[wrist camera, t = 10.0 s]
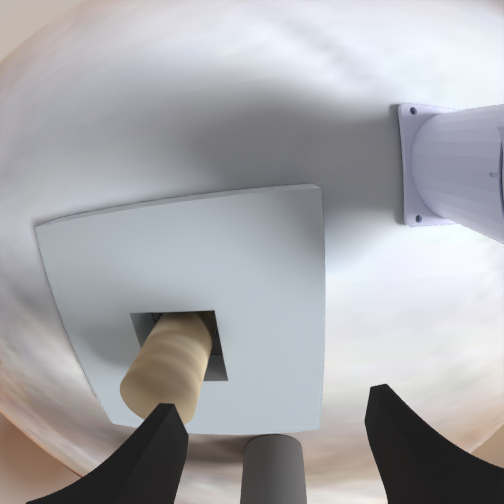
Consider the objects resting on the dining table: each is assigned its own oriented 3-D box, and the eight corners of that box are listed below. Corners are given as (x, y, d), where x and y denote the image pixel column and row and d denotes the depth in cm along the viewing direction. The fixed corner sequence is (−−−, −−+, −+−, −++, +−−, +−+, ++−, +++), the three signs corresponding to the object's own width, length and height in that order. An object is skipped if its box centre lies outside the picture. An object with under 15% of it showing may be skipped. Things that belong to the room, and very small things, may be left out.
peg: (212, 297, 20) (185, 376, 12) (220, 345, 21) (201, 429, 13) (157, 299, 20) (109, 369, 12) (169, 345, 21) (133, 422, 13)
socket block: (312, 183, 17) (321, 187, 14) (315, 403, 22) (319, 429, 19) (59, 217, 18) (34, 227, 15) (123, 402, 24) (112, 423, 21)
